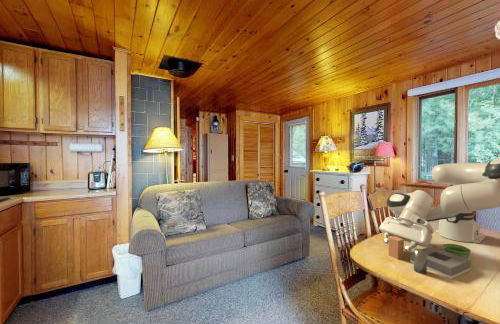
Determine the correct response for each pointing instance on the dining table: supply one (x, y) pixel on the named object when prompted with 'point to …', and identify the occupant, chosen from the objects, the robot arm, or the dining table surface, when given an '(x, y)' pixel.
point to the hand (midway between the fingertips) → (395, 246)
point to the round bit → (420, 261)
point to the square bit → (396, 247)
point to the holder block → (445, 262)
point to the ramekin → (457, 250)
